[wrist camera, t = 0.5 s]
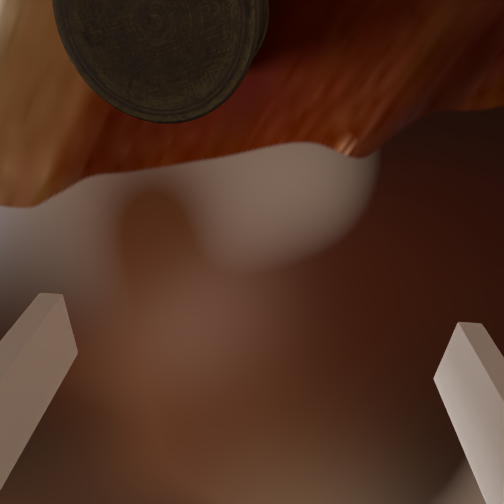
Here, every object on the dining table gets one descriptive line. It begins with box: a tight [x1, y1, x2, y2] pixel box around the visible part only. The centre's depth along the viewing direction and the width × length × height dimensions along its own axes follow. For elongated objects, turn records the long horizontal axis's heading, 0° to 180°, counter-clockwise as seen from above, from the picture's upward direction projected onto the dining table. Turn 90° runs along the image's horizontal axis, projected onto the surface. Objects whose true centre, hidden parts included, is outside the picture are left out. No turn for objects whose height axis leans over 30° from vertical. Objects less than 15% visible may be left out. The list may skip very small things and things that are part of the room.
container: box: [53, 0, 269, 123], centre depth 23 cm, size 9×9×18 cm
